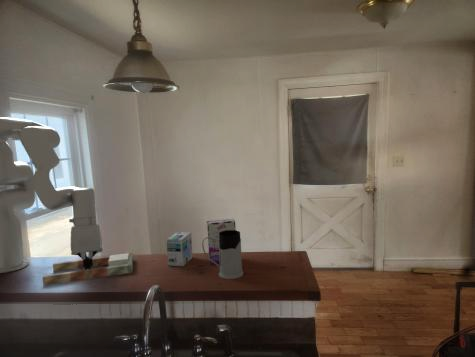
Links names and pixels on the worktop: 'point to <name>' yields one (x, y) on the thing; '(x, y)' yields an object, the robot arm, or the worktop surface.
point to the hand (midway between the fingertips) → (88, 268)
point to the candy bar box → (217, 236)
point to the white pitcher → (229, 254)
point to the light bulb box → (179, 249)
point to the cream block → (118, 259)
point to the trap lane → (86, 273)
